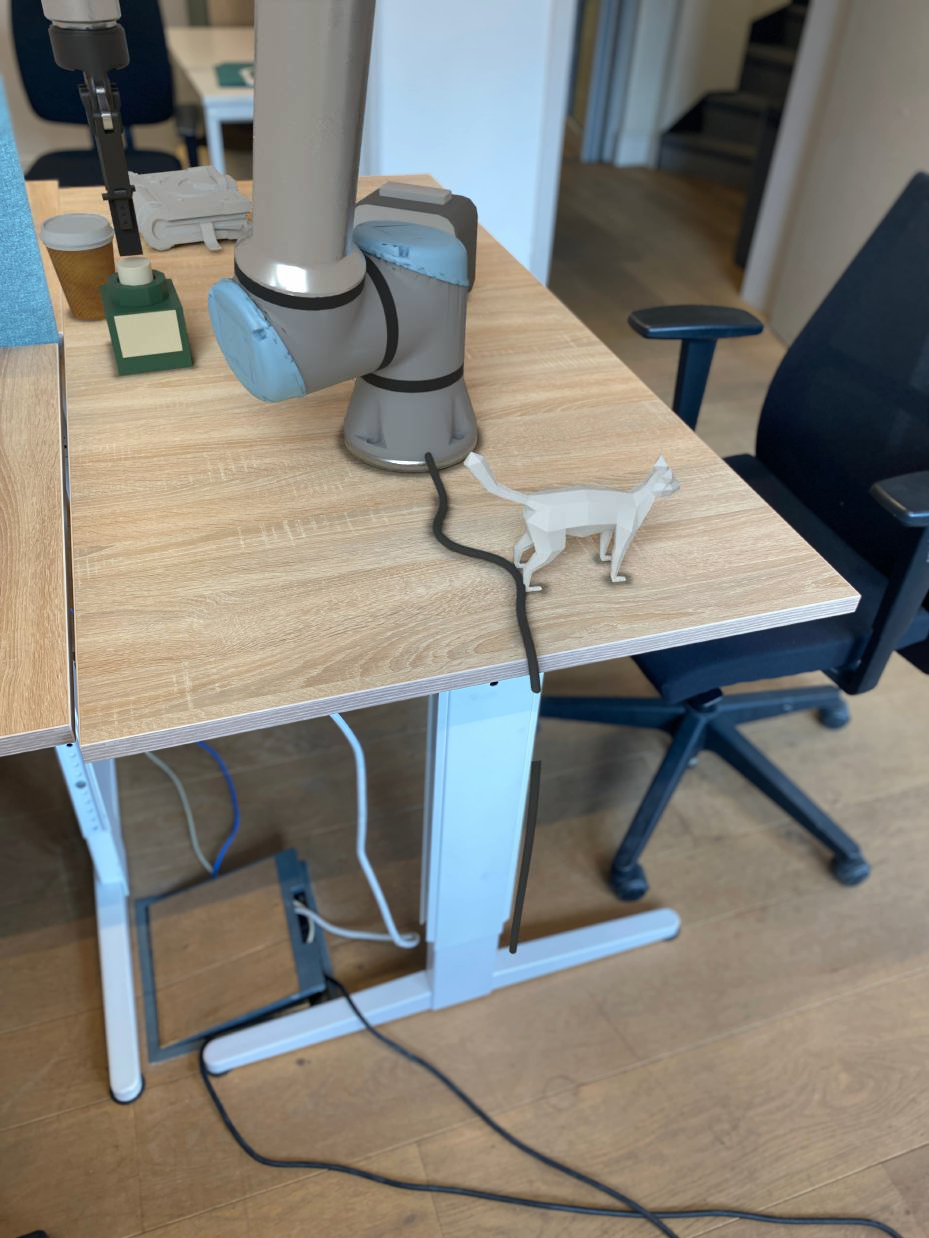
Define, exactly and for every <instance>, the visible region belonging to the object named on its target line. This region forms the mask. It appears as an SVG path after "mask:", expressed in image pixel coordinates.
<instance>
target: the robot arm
mask: <svg viewBox="0 0 929 1238" xmlns="http://www.w3.org/2000/svg"><path fill="white" fill-rule="evenodd" d="M40 1H41V5H42V10H43V15H44V17H45V18H46V19H47V20H49V21H51V24H49V28H47V30H48V35H49V39H50V44H51V48H52V53H53V57H54V62H55V63H56V65H57V66H58V67H59V68H62V69H64V70H67V71H72V72H73V71H74V72H76V71H82V73H83V78H84V83H79V84H77V88H78V92H79V96H80V101H81V102H82V103H81V104H82V106H83V108H84V109H85V113H86V120H87V123H88V126H89V129H90V132H91V134H92V135H94V139H95V143H96V148H97V153H98V157H99V162H100V167H101V172H102V175H101V177H102V180H103V182H104V184H105V185H104V189H105V191H106V192H102V193H101V198H102V201H103V202H106V201H107V202H108V207H109V212H110V216H111V221H112V225H113V226H112V228H113V229H114V232H115V234H114V236H115V237H114V238H115V241H116V246H117V251H118V255H119V257H135V256H143V255H144V250H143V246H142V240H141V234H140V232H139V229H138V224H137V219H136V213H135V208H134V203H133V198H132V196H133V192H136V189H135V186H134V185H130V180H129V174H128V171H129V169H128V163H127V157H126V152H125V147H124V146H125V145H124V141H123V134H124V125H123V120H122V113H121V107H122V102H121V100H122V99H121V95H120V91H119V87H117V83H116V82H111V83H110V77H109V73H108V72H110V71H112V70H115V71H116V70H121V69H124V68H125V67H127V66H129V64H130V53H129V50H128V43H127V37H126V32H125V28H124V27H123V26H122V24H120V23H118V22H117V21H118V20H120V19H121V17H122V13H121V6H120V1H119V0H40ZM376 8H377V0H254V15H253V16H254V17H253V18H254V20H253V21H254V22H253V23H254V28H253V111H252V113H253V114H252V115H253V116H252V118H253V119H252V121H253V122H252V123H253V125H252V200H251V202H252V211H251V212H252V213H251V223H252V228H250V229H249V230H247V231H246V232H244V233H243V234H242V235H241V236H240V237H239V238H238V239H236V242H235V244H234V250H233V276H232V277H221V278H220V279H219V281H216V282H214V283H213V285H211V287H210V288H209V291H208V294H207V310H208V316H209V321H210V325H211V328H212V332H213V334H214V337H215V340H216V342H217V345H218V348H219V350H220V352H221V353H222V356H223V357H224V360H225V361H226V364H227V365H228V367H229V368H230V371H231V372H232V373H233V374H234V376H235V378H236V379H237V381H238V382H239V383H240V384H241V385H242V387H243V388H244V389H245V390H246V391H247V392H248V393H249V394H251V395H252V396H253V397H254V398H256V399H258V400H260V401H262V402H265V403H269V404H275V403H280V402H285V401H289V400H293V399H297V398H298V399H303V398H304V397H306V396H308V395H310V394H312V393H316V392H319V391H322V390H324V389H327V388H330V387H333V386H336V385H339V384H342V383H344V382H347V381H350V380H354V379H355V382H354V386H353V389H352V392H351V395H350V398H349V401H348V405H347V409H346V412H345V415H344V419H343V427H342V428H343V442H344V446H345V448H346V449H347V450H348V452H349V453H350V454H351V455H352V456H353V457H354V458H356V459H357V460H359V461H360V462H362V463H365V464H367V465H369V466H370V467H371V466H372V467H375V468H378V469H381V470H386V471H390V472H398V473H425V472H426V473H427V472H429V474H430V477H431V479H432V482H433V484H434V487H435V489H436V492H437V495H438V498H439V507H438V510H437V512H436V513H435V517H434V518H433V523H432V533H433V535H434V537H435V538H436V540H437V541H438V542H439V543H440V544H441V545H442V546H443V547H445V548H447V549H448V550H451V551H452V552H455V553H457V554H459V555H464V556H467V557H471V558H475V559H479V560H483V561H487V562H490V563H492V564H496V565H497V566H499V567H501V568H503V569H505V570H506V571H507V572H509V574H510V575H511V576H512V577H513V580H514V582H515V585H516V600H515V611H516V612H515V613H516V618H517V623H518V627H519V631H520V635H521V638H522V643H523V645H524V651H525V655H526V661H527V667H528V675H529V685H530V690H531V692H532V693H534V694H540V693H541V692H542V685H541V676H540V675H541V674H540V668H539V663H538V662H539V661H538V655H537V651H536V647H535V642H534V638H533V635H532V632H531V629H530V625H529V621H528V617H527V616H528V615H527V613H526V612H527V611H526V610H527V609H526V598H527V592H526V586H525V584H524V583H523V573H521V571H520V570H519V568H517V567H516V566H515V564H514V563H512V562H511V561H510V560H508V559H507V558H505V557H503V556H500V555H499V554H495V553H492V552H489V551H486V550H481V549H478V548H474V547H471V546H467V545H463V544H461V543H458V542H455V541H454V540H452V539H450V538H449V537H447V535H445V534H444V532H443V531H442V523H443V521H444V519H445V516H446V513H447V509H448V501H449V500H448V494H447V491H446V488H445V485H444V483H443V481H442V479H441V476H440V473H439V471H440V470H442V469H446V468H450V467H452V466H454V465H456V464H459V463H460V462H462V461H465V459H466V458H467V456H468V455H469V454H470V452H473V453H474V450H475V449H476V447H477V443H478V424H477V423H478V422H477V416H476V414H475V409H474V407H473V403H472V401H471V400H472V399H471V398H470V397H471V396H470V393H469V390H468V387H467V383H466V381H465V354H466V353H465V352H466V351H465V348H466V329H467V313H468V312H467V310H468V295H469V293H468V286H469V280H468V279H467V252H466V249H465V247H464V245H463V244H462V242H461V241H460V240H459V239H457V238H456V237H455V236H453V235H451V234H449V233H447V232H445V231H442V230H440V229H437V228H434V227H430V226H426V225H421V224H416V223H410V222H402V221H388V220H379V221H368V222H363V223H360V224H358V225H357V226H356V227H355V228H354V229H353V225H354V216H355V206H356V203H357V195H358V194H357V193H358V185H359V177H360V176H359V175H360V166H361V154H362V146H363V136H364V125H365V117H366V116H365V115H366V107H367V105H366V104H367V97H368V96H367V95H368V87H369V75H370V66H371V56H372V48H373V38H374V26H375V17H376ZM438 470H439V471H438ZM530 764H531V765H530V783H529V796H528V808H527V817H526V825H525V835H524V843H523V852H522V855H521V857H522V858H521V863H520V864H521V865H520V870H519V877H518V884H517V889H516V897H515V903H514V908H513V909H514V910H513V916H512V923H511V931H510V937H509V946H508V952H509V953H510V954H511V955H515V954H516V953H517V951H518V943H519V938H520V937H519V935H520V929H521V923H522V917H523V916H522V915H523V909H524V903H525V898H526V892H527V891H526V890H527V885H528V879H529V873H530V867H531V861H532V854H533V847H534V842H535V833H536V826H537V817H538V808H539V799H540V798H539V797H540V787H541V772H542V771H541V770H542V760H541V759H539V760H531V763H530Z"/></svg>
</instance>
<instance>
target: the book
mask: <svg viewBox="0 0 929 1238" xmlns="http://www.w3.org/2000/svg"><path fill="white" fill-rule="evenodd" d="M128 174H129V180H130V185H134V186H135V189H136V192H133V196H132V198H133V203H134V208H135V213H136V219H137V224H138V229H139V234H140V235H141V236H142V237H143V240H144V241H145V242H146V243H147V245H148V246H149V247H151V248H153V249H155V250H157V251H160V252H161V251H165V250H170V249H171V248H172V247H175V245H179V244H181V245H182V244H187V243H188V244H189V243H196V242H204V245H205V247H206V248H207V249H208V250H209V251H219V250H222V249H223V247H222V246H221V245H220V244H219V242H218V240H222V239H223V240H224V239H227V240H238V238H239V237H240V236H241V235H242V234H243V233H244V232H246V231H247V230H249V229H250V228H252V221H250V220H249V219H248V214H250V213H251V212H252V200H251V199H250V197H248V196H247V195H245V194H244V193H240V192H239V189H238V183H237V182H238V181H236V180H235V179H234V178H233V177H232V175H230V174H224V175H223V174H222V173H220V172H219V170H218V169H217V168H216V167H215V166H214V165H200V166H194V167H193V166H192V167H186V169H182V170H181V169H179V170H170V171H163V172H152V173H144V174H143V173H141V174H138V173H137V172H135V173H134V172H133V171H131V170H128Z"/></svg>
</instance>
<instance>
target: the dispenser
mask: <svg viewBox="0 0 929 1238" xmlns="http://www.w3.org/2000/svg"><path fill="white" fill-rule="evenodd" d="M152 274H153V279H154V281H152V282H151V283H147V284H144V285H135V286H132V285H123V284H121V283H120V281H119V276H118V271H115V273H113V274H112V275H110V276H109V277H108V278H107V284H108V285H99V289H100V294H101V298H102V302H103V307H104V311H105V316H106V318H105V319H106V324H107V328H108V333H109V338H110V341H111V345H112V349H113V354H114V359H115V363H116V367H117V372H118V376H120V377H122V376H130V375H137V374H144V373H154V372H161V371H169V370H175V369H185V368H192V367H193V361H192V360H193V359H192V354H191V348H190V343H189V342H190V341H189V336H188V331H187V325H186V319H185V313H184V308H183V305H182V302H181V299H180V297H179V294H178V292H177V289H176V287H175V284H174V282H173V279H172V278H167V277H166V274H165V273H164V272H162V271H160V270H157V269H153V268H152ZM168 310H176V315H177V321H178V327H179V332H180V338H181V344H182V349H183V351H175V352H167V353H159V354H151V355H142V356H134V357H126V358H123V355H122V351H121V346H120V342H119V337H118V333H117V328H116V324H115V319H114V316H121V315H131V314H140V313H149V312H159V311H168Z"/></svg>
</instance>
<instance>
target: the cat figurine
mask: <svg viewBox="0 0 929 1238" xmlns="http://www.w3.org/2000/svg"><path fill="white" fill-rule="evenodd" d="M463 465H464V467H465V468H466V469H467V470H468V471H469V473H470V474H471V475H472V476H473V478H475V480H476V481H477V482H478V483H479V484H480V485H481V487H483V489H484V490H485V491H487V492H489V493H491V494H493V495H496V496H498V497H500V498H502V499H506V500H508V501H511V502H515V503H518V504H522V505H524V507H523V509H522V510H521V514H522V518H523V522H524V525H525V529H526V531H525V532H524V533H523V534H522V536H521V537H520V538H519V540H518V541H517V543H516V544H515V545H514V547H513V565H515V566H516V567H517V569H522V576H523V583H524V584H525V586H526V593H528V592H538V591H542V590H543V588H542V586H541V585H537V586H536V585H535V586H530V585H531V579H532V575H533V573H534V572H536V571H538V570H540V569H542V568H543V567H545V566H547V565H548V564H550V563H551V562H552V561H553V560H555V559H556V557H558V556H559V555H560V554H561V552H563V551H564V550H565V549H566V536H571V537H578V538H586V537H589V536H593V535H597V534H599V551H598V553H599V559H600V561H601V562H607V561H610V572H609V573H610V580H611V581H612V583H617V582H626V581H627V578H626V577H625V575H618V573H619V570H620V568H621V565H622V562H623V560H624V557H625V555H626V552H627V551H628V548H629V546H630V545H631V544H632V541H633V540H634V538H635V536H636V534H637V532H638V531H639V529H640V527H641V525H642V524H643V522H644V520H645V518H646V517H647V515H648V513H649V511H650V509H651V508H652V506H653V504H654V502H655V500H656V498H657V499H662V498H667V497H668V498H669V497H670V496H673V494H676V493H677V492H678V491H679V490H680V489H681V485H682V484H681V482H680V481H679V480H678V479H677V478H676V477H675V474H674V472H673V469H672V467H670V468H669V467H668V465H667V463H666V461H665V457H664V455H663V453H661V454H659V456H658V457H657V458H656V460H655V463H654V464H653V467H652V470H651V472H650V474H649V475H648V476H647V478H646V479H645V480H644V481H643V482H641V483H640V484H638V485H636V486H633V487H632V488H630V489H628V490H623V489H619V488H614V487H609V486H599V485H598V486H597V485H584V484H583V485H582V484H578V485H572V486H571V485H570V486H566V487H561V488H553V489H544V490H543V489H542V490H539V491H534V492H531V493H526V492H525V493H524V492H522V491H519V490H516V489H513V488H510V487H508V486H506V485H505V484H502V483H500V482H499V481H498V479H497V478H496V476H495V473H493V471H492V469H491V468H490V465H489V464H488V462H487V460H486V458H485V456H483V455H481V454H478V453H476V452H474V451H473V452H470V454H469V455H468V456H467V457H466V458H465V459H464V460H463ZM612 537H613V548H612V551H611V554H610V555H608V554H607V551H608V548H609V546H610V543H611V540H612ZM532 547H534V553H533V554H532V555H531V557H530V558H529V559H528V561H527V562H524V563H520V562H521V559H522V555H523V553H524V552H525V551H527V550H528V549H531V548H532Z"/></svg>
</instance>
